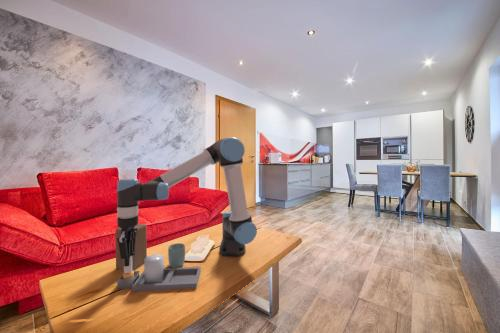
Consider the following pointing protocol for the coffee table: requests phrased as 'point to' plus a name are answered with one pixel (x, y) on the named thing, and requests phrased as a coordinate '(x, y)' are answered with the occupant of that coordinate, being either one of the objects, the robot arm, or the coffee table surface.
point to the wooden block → (139, 248)
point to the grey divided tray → (171, 280)
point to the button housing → (127, 281)
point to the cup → (176, 255)
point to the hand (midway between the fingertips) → (128, 272)
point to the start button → (128, 275)
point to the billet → (154, 269)
